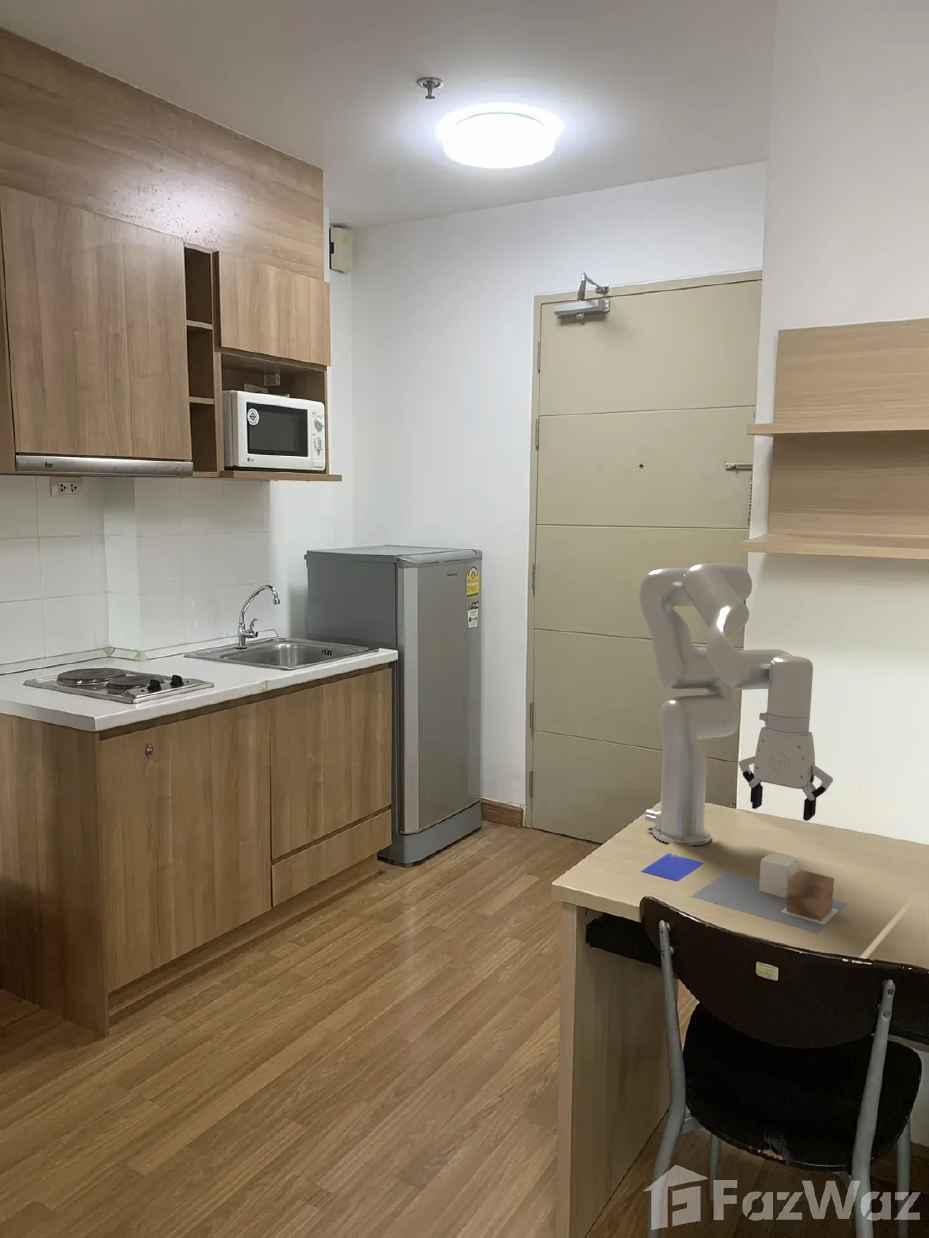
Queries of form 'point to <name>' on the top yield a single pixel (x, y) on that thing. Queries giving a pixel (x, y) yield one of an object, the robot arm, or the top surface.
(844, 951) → the top surface
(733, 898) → the board
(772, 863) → the cream block
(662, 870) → the blue square mat
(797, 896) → the walnut block
